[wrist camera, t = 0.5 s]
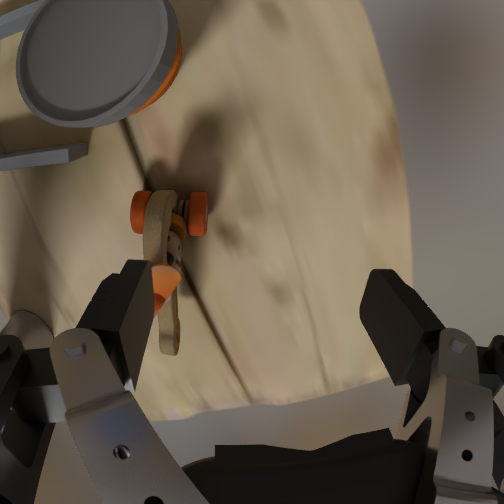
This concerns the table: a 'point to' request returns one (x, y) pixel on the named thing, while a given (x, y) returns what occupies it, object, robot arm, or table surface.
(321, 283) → the table surface
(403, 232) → the table surface
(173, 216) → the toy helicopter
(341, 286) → the table surface
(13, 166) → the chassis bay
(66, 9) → the reusable coffee cup
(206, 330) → the table surface
